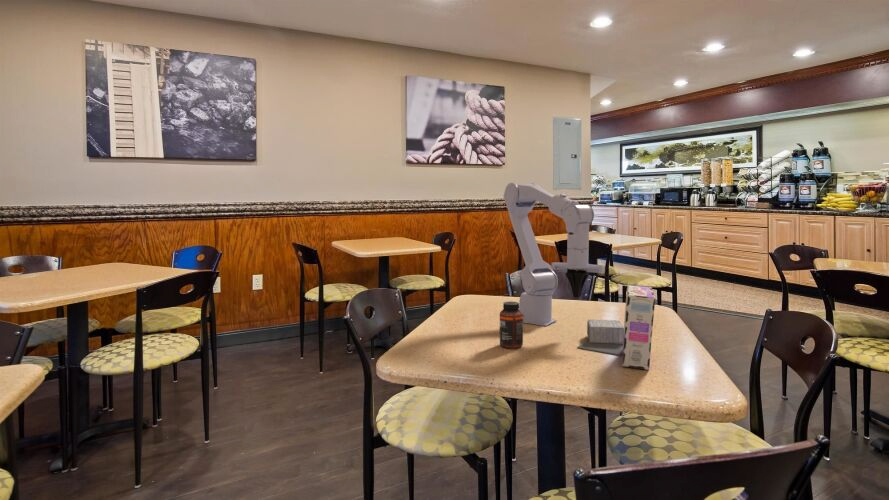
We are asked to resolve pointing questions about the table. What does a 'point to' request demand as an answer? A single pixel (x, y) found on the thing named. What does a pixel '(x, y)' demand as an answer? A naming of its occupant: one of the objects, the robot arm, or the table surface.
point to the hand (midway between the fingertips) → (577, 297)
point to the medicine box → (605, 331)
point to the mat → (603, 347)
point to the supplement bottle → (511, 326)
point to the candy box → (638, 326)
